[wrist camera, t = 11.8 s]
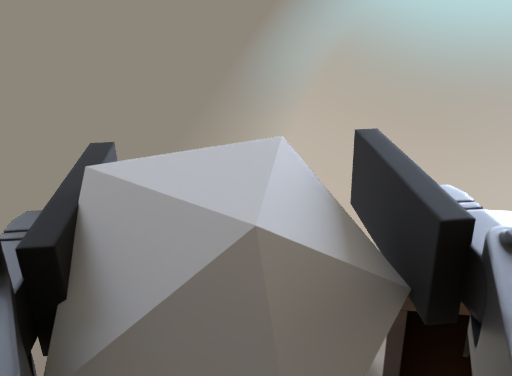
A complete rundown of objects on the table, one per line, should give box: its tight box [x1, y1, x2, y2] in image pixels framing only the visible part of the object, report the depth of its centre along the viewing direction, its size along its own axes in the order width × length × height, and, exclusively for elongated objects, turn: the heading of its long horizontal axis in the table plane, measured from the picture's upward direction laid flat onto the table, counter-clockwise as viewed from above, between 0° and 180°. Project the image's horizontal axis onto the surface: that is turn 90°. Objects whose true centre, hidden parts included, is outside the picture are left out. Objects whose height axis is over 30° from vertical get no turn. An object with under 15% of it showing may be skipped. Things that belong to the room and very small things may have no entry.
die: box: [44, 136, 411, 376], centre depth 13 cm, size 8×9×10 cm
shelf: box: [367, 210, 512, 376], centre depth 33 cm, size 16×11×14 cm
